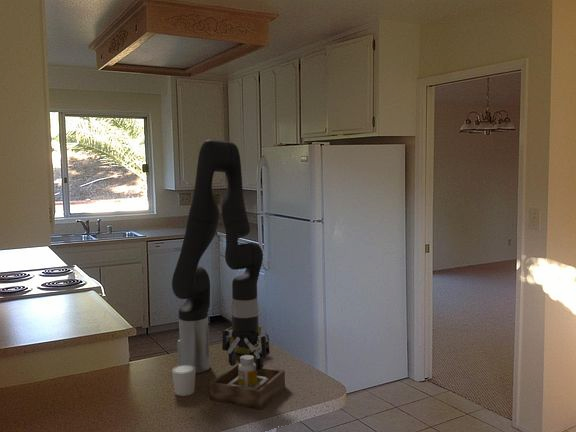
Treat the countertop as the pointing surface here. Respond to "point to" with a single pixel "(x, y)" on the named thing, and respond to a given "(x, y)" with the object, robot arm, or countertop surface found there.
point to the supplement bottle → (247, 372)
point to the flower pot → (243, 350)
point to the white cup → (184, 379)
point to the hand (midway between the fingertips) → (245, 367)
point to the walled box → (247, 388)
